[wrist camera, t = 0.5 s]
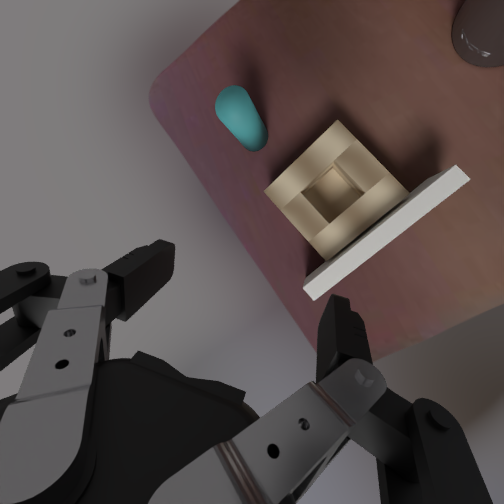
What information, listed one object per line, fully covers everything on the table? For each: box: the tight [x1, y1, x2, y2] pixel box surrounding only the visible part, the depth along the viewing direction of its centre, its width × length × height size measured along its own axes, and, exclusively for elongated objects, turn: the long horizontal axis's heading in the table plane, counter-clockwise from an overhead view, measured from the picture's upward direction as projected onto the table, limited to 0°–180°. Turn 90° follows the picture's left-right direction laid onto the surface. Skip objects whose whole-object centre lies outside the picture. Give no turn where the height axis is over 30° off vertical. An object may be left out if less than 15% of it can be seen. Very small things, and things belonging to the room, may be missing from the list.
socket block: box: [264, 120, 410, 262], centre depth 33 cm, size 12×12×5 cm
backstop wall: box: [303, 165, 470, 300], centre depth 31 cm, size 20×2×7 cm, turn 132°
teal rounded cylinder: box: [215, 85, 268, 151], centre depth 33 cm, size 4×4×10 cm
